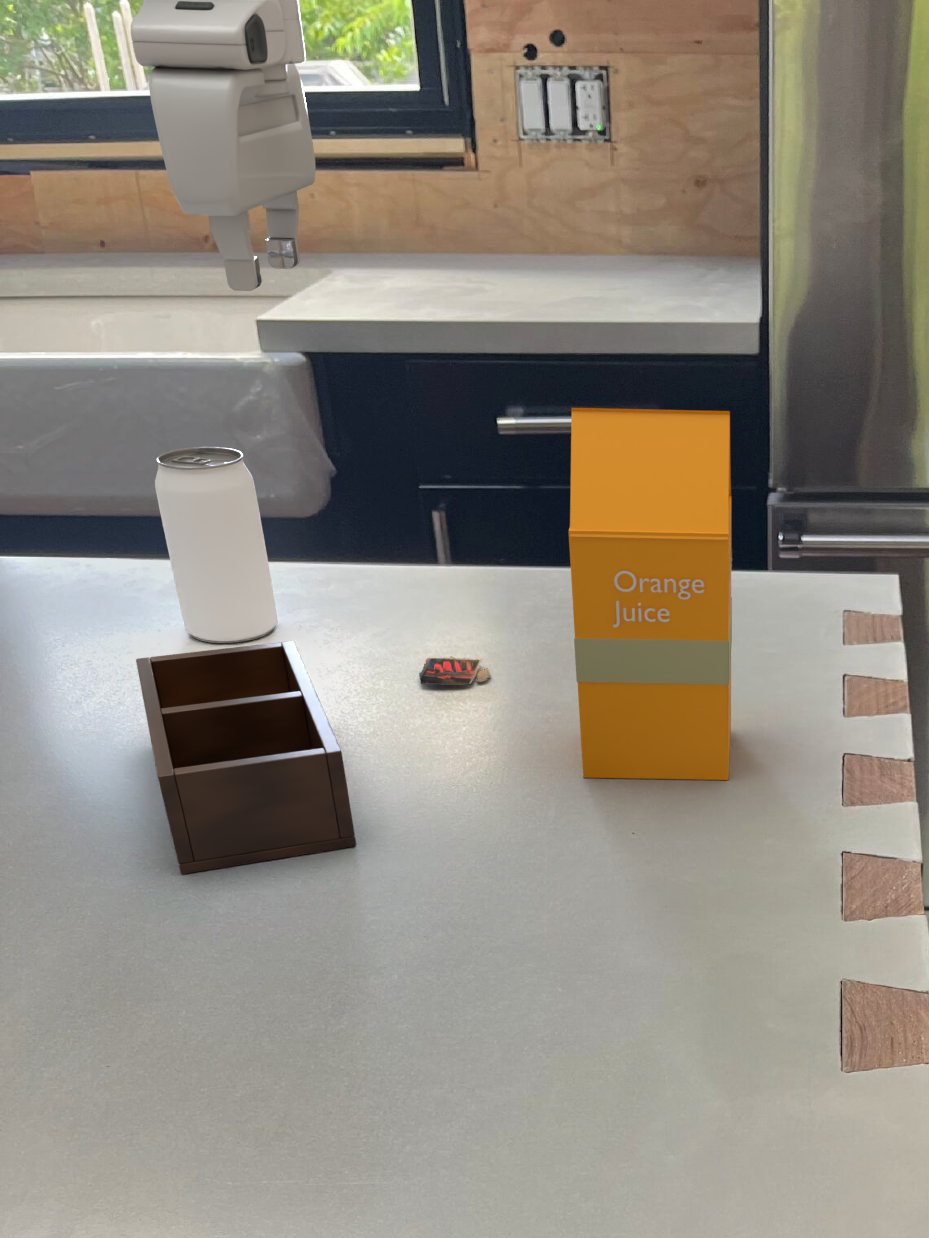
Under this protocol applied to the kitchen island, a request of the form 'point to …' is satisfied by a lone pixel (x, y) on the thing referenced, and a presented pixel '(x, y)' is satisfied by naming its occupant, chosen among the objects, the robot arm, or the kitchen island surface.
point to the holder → (244, 756)
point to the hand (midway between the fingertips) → (266, 278)
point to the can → (215, 544)
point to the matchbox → (452, 671)
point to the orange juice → (652, 591)
